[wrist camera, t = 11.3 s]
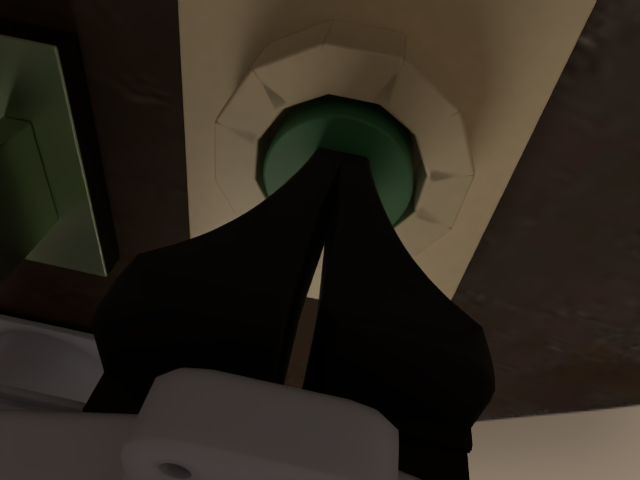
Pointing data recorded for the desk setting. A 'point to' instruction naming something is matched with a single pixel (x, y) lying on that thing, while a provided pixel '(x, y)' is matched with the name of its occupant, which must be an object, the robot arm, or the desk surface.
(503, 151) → the switch plate
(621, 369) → the desk surface
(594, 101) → the desk surface
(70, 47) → the switch bracket
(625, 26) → the desk surface
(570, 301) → the desk surface
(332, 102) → the button
